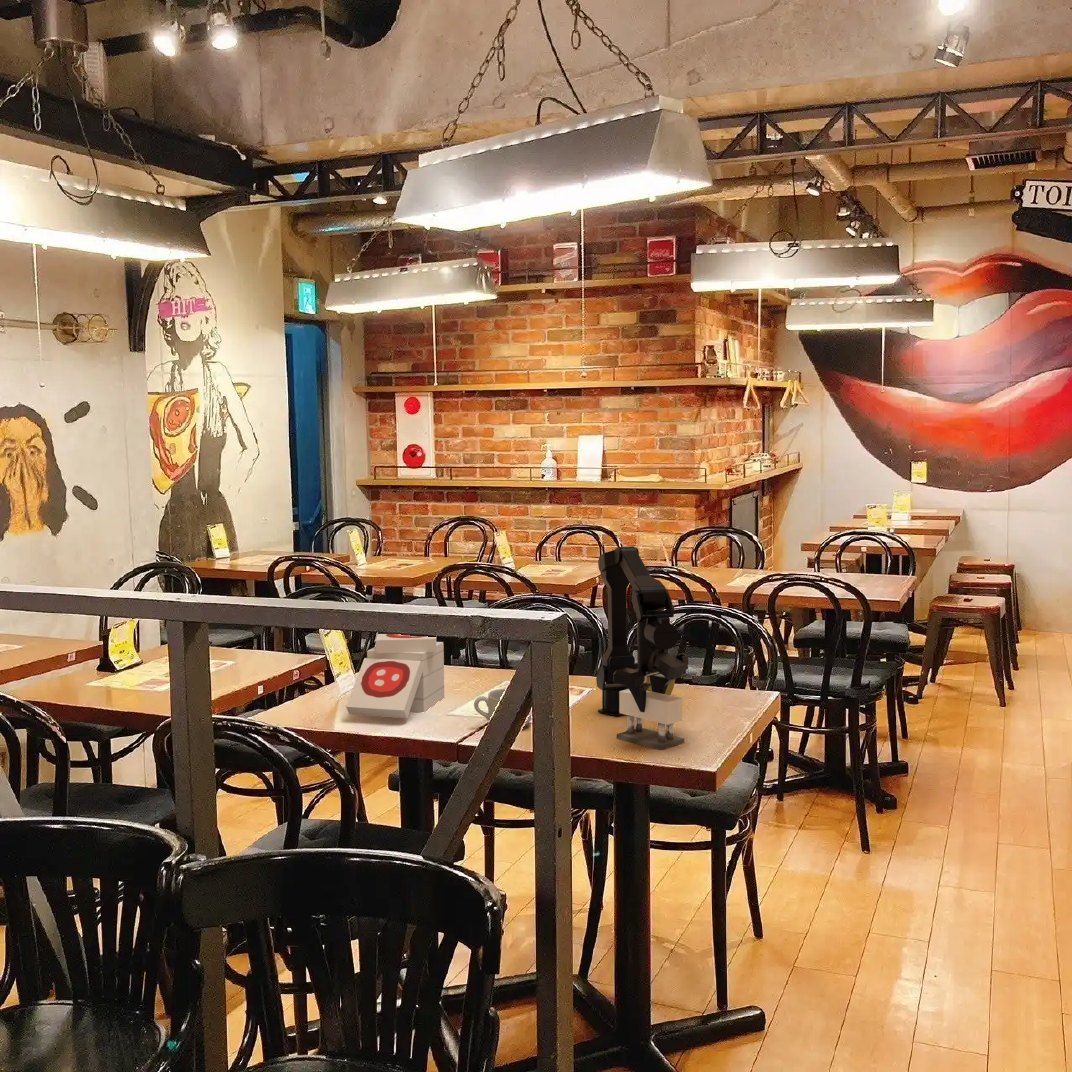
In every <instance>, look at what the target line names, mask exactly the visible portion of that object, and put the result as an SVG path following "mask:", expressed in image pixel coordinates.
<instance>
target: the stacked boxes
mask: <svg viewBox="0 0 1072 1072" xmlns="http://www.w3.org/2000/svg"><path fill="white" fill-rule="evenodd" d="M444 646H445V645H444V641H437V636H436V637H428V636H410V635H401V634H378V633H377V634H376V639H375V646H374V647H372V648H370V649H368V650H367V651H366V657H364V659H363V661H362V664H361V667H360V668H359V672H358V674H357V677H356V679H355V681H354V684H353V687H352V690H351V693H350V695H349V698H348V700H347V703H346V706H345V708H346V710H347V712H348V714H349V715H350V716H351V715H353V716H365V717H366V716H368V717H383V718H398V719H408V718H409V714H410V713H422V712H424V713H426V712H427V711H429V710H430V709H431V708H433V707H435V706H436V705H437V704H438V703H437V702H438V701H440V702H442V701H443V700H444V699H445V664H444V663H445V658H444V657H445V655H444V653H445V652H444V651H445V650H444V649H445V648H444ZM443 698H444V699H443ZM442 699H443V700H442ZM441 700H442V701H441ZM436 703H437V704H436ZM435 704H436V705H435ZM430 707H431V708H430ZM429 708H430V709H429ZM428 709H429V710H428Z"/></svg>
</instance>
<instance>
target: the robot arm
mask: <svg viewBox="0 0 1072 1072" xmlns="http://www.w3.org/2000/svg"><path fill="white" fill-rule="evenodd" d="M597 564H598V566H597V567H598V571H599V572H600V578H601V580H602V581H603V583H604V584H605V586H606V589H607V634H608V635H607V638H608V639H607V642H608V643H607V645H608V646H607V649H606V650H605V652H604V654H603V656H602V657H601V666H600V667H599V669H598V673H597V675H596V678H595V680H596V681H595V682H596V687H597V688H598V689H599V690H601V694H602V695H601V696H602V697H601V701H602V702H601V706H602V708H599V709H597V712H598V713H601V714H605V715H610V716H615V717H619V716H624V715H625V714H621V713H619V691H623V690H627V689H629V690H630V692H631V694H632V696H633V698H634V700H635V702H636V704H637V706H638V708H639V710H640V712H645V706H646V692H647V689H648V688H649V686H650V685H651V688H652V692H656V693H661V694H665V692H666V689H667V687H668V685H669V683H671V682H672V681H673V680H675V681H676V679H678V678H680V679H681V678H682V677H683V675H685V674H687V670H689V655H687V654H685V653H684V652H682V653H678V654H677V655H676V654H670V653H669V650H670V649H672V648H674V647H675V646H676V645H677V643H678V642H679V641H678V640H679V635H680V634H679V631H678V629H677V628H676V626H675V625H674V624H671V618H674V617H675V615H674V611H675V607H674V604H673V600H672V597H671V594H669V590H668V589H667V588H666V586H665V584H663V582H661V580H659V579H657V578H654V577H652V576H651V574H650V572H649V571H648V569H647V567H646V565H645V563H644V561H643V560H642V558H641V556H640V551H639V548H638V546H637V547H635V546H618V547H615V549H612V550H609V551H607V552H606V551H604V552H603V554H601V555H600V556H599V557H598V561H597ZM629 585H630V586H631V588H632V591H631V604H632V606H633V609H634V611H635V614H636V618H637V621H636V623H637V624H636V625H637V627H636V630H637V632H636V633H637V636H636V637H637V638H636V639H637V644H633V648H632V649H633V650H634V651H637V652H636V655H637V656H636V658H635V656H634V655H633V654H632V653H631V652H630V649H629V648H628V597H627V596H628V593H627V592H628V591H627V589H628V587H629ZM636 668H637V669H638V670H637V669H636ZM646 672H647V673H646ZM647 677H650V683H651V684H650V683H647Z"/></svg>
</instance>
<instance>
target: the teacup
mask: <svg viewBox="0 0 1072 1072" xmlns="http://www.w3.org/2000/svg"><path fill="white" fill-rule="evenodd" d="M506 688H507V687H506ZM506 688H498V689H493V690H490V691H489V692H488V694H487V697H486V696H483V695H480V696H478V697H477V698H476V699H475V700H474V702H473V707H474V710H475V711H476V712H477V713H478V714H479V715H481V716H482V717H484V718H485V719H486V720H487V721H489V720H490V717H491V716H492V714H493V712H494V711H495V707H496V706H497V704H498V702H499V701H500V697H501V696H502V694H503V692H504V691H505V689H506ZM482 701H483V702H485V704H486V706H487V708H488V709H487V710H488V711H486V712H485V711H483V710H482V709H481V708H480V707H479V703H481V702H482ZM531 721H532V718H531V715H530V716H529V717H528V720H527V721H526V725H527V724H529V723H530V722H531Z"/></svg>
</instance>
